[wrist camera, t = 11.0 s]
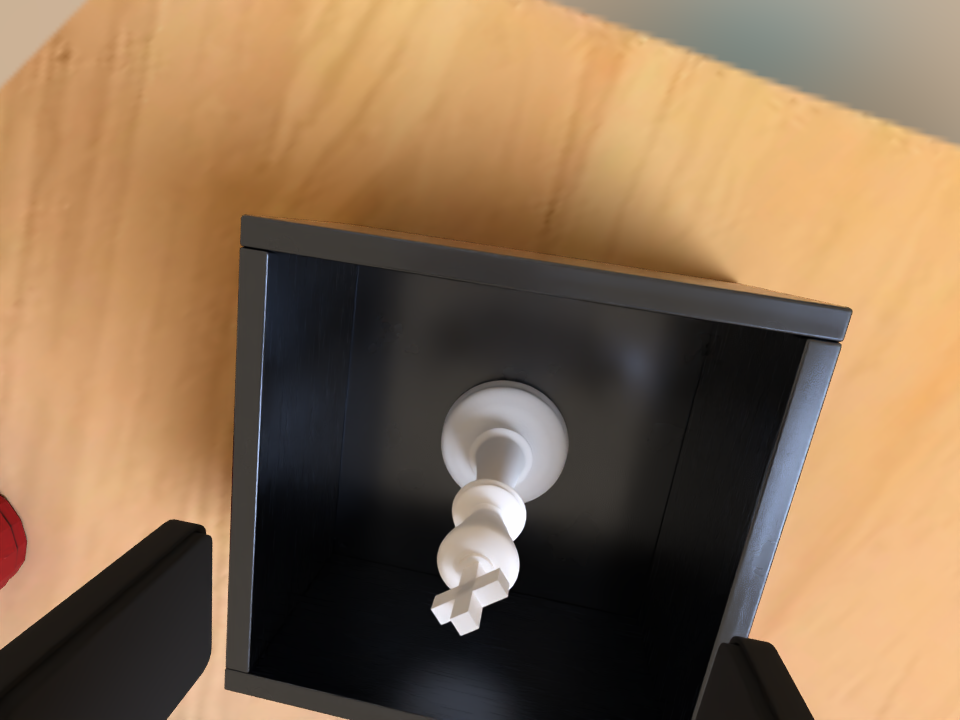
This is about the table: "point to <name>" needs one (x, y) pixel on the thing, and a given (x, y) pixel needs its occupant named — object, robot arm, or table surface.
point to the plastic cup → (10, 542)
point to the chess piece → (493, 490)
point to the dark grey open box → (549, 518)
